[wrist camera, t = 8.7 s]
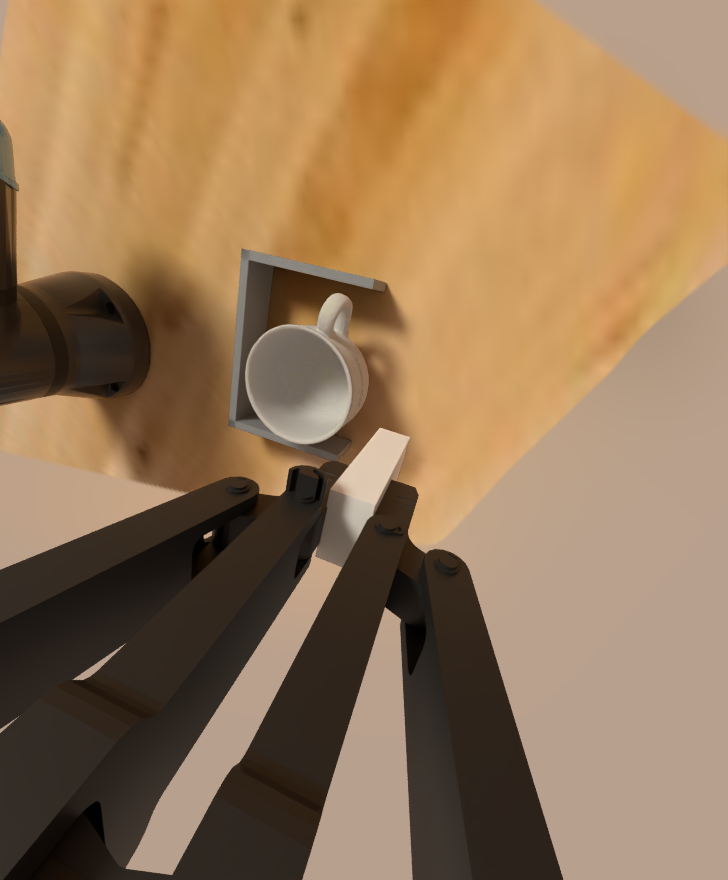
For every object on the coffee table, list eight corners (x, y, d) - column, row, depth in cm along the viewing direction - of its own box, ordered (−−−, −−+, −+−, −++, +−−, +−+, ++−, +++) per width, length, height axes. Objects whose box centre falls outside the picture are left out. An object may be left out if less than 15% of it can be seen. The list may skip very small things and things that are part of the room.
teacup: (338, 440, 42) (309, 467, 34) (267, 379, 42) (222, 393, 34) (417, 343, 36) (402, 351, 28) (333, 271, 36) (297, 261, 28)
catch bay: (251, 415, 44) (228, 425, 40) (267, 255, 37) (241, 248, 33) (349, 447, 41) (335, 462, 37) (386, 283, 35) (374, 279, 30)
